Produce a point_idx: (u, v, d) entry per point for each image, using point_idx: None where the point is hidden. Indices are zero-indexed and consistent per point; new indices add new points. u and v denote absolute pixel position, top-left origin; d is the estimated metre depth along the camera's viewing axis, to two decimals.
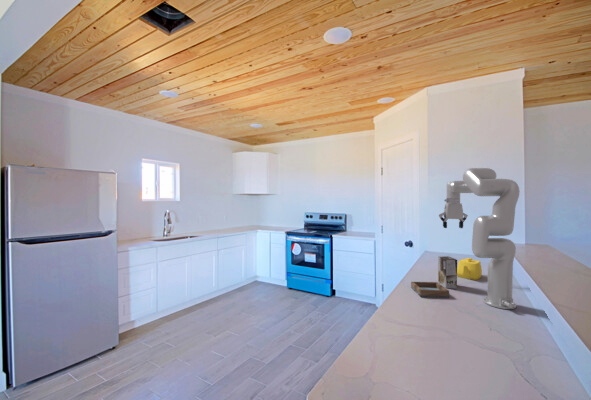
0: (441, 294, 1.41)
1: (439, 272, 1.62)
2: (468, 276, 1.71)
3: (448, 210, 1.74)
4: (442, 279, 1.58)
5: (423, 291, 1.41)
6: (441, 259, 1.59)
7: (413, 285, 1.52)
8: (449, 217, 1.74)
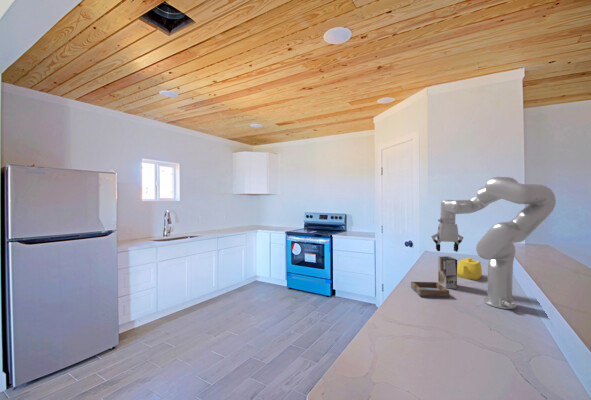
0: (441, 294, 1.41)
1: (439, 272, 1.62)
2: (468, 276, 1.71)
3: (442, 232, 1.56)
4: (442, 279, 1.58)
5: (423, 291, 1.41)
6: (441, 259, 1.59)
7: (413, 285, 1.52)
8: (443, 239, 1.56)
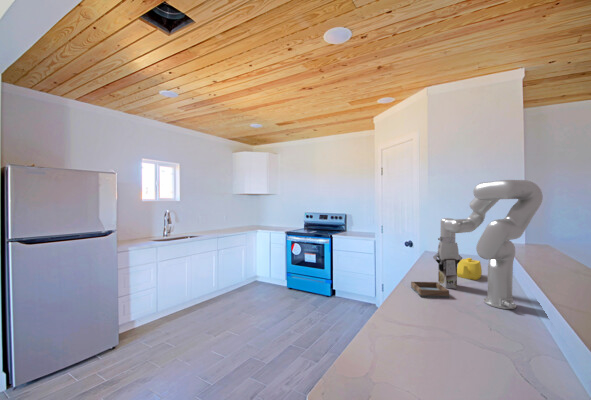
0: (441, 294, 1.41)
1: (439, 272, 1.62)
2: (468, 276, 1.71)
3: (442, 250, 1.56)
4: (442, 279, 1.58)
5: (423, 291, 1.41)
6: None
7: (413, 285, 1.52)
8: (443, 258, 1.56)
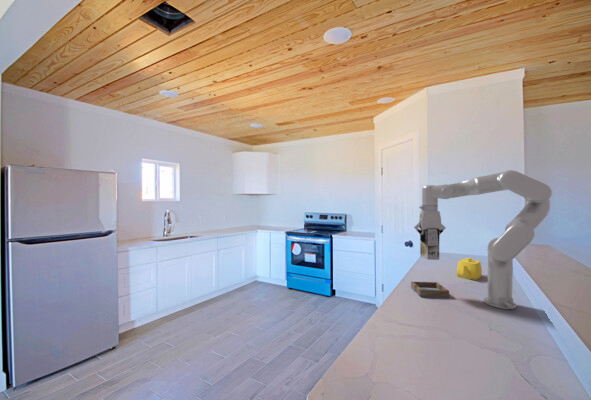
0: (441, 294, 1.41)
1: (421, 244, 1.50)
2: (468, 276, 1.71)
3: (423, 219, 1.45)
4: (424, 250, 1.47)
5: (423, 291, 1.41)
6: None
7: (413, 285, 1.52)
8: (425, 228, 1.45)
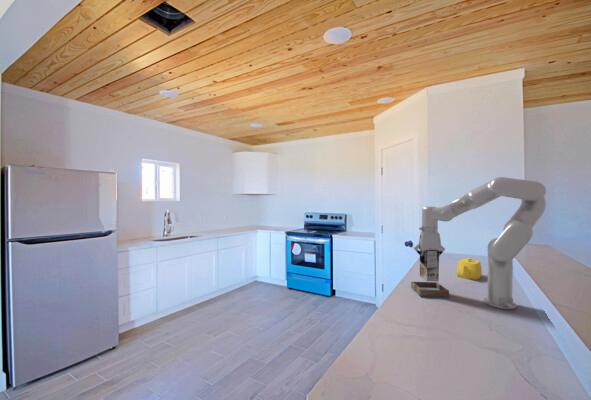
0: (441, 294, 1.41)
1: (420, 264, 1.51)
2: (468, 276, 1.71)
3: (423, 241, 1.45)
4: (423, 272, 1.47)
5: (423, 291, 1.41)
6: None
7: (413, 285, 1.52)
8: (424, 249, 1.45)
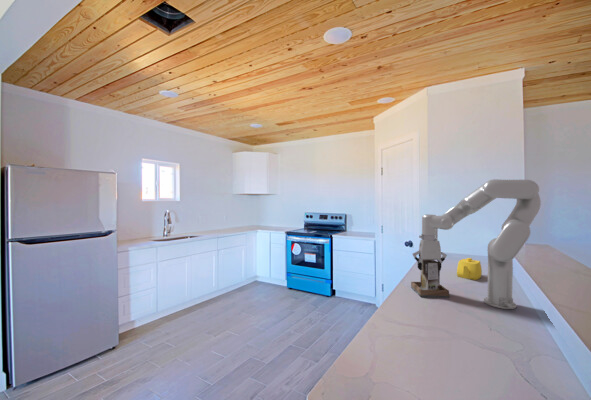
0: (441, 294, 1.41)
1: (421, 276, 1.50)
2: (468, 276, 1.71)
3: (423, 249, 1.45)
4: (424, 283, 1.47)
5: (423, 291, 1.41)
6: (423, 262, 1.48)
7: (413, 285, 1.52)
8: (424, 257, 1.45)
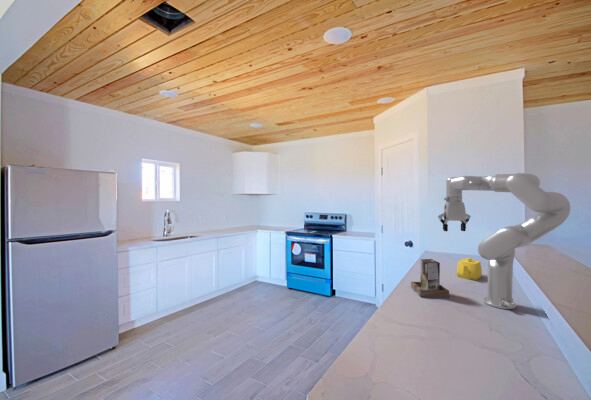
0: (441, 294, 1.41)
1: (421, 276, 1.50)
2: (468, 276, 1.71)
3: (449, 210, 1.49)
4: (424, 283, 1.47)
5: (423, 291, 1.41)
6: (423, 262, 1.48)
7: (413, 285, 1.52)
8: (450, 218, 1.49)
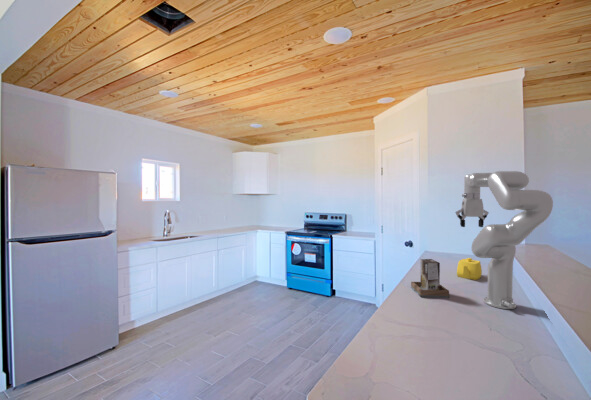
0: (441, 294, 1.41)
1: (421, 276, 1.50)
2: (468, 276, 1.71)
3: (466, 206, 1.53)
4: (424, 283, 1.47)
5: (423, 291, 1.41)
6: (423, 262, 1.48)
7: (413, 285, 1.52)
8: (468, 214, 1.53)
